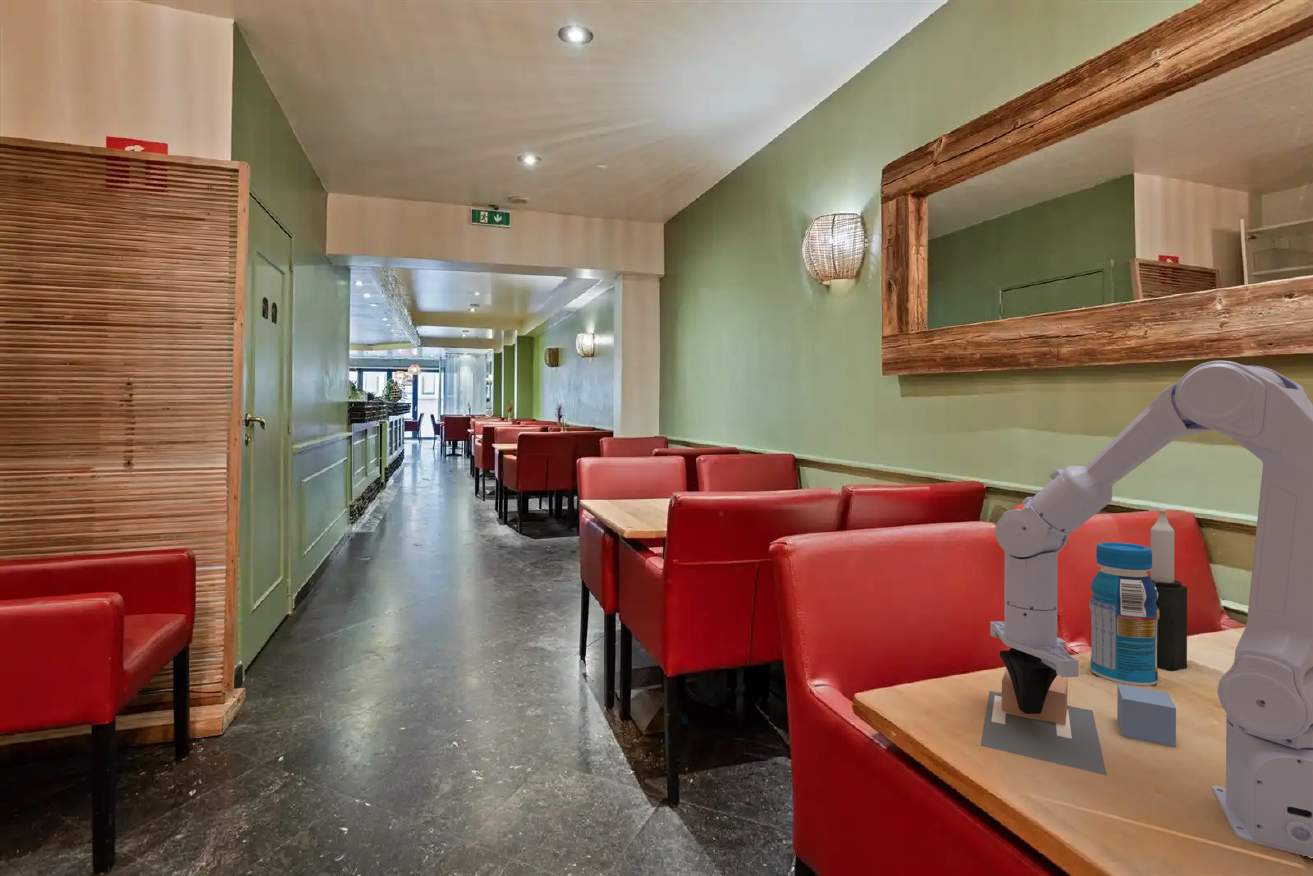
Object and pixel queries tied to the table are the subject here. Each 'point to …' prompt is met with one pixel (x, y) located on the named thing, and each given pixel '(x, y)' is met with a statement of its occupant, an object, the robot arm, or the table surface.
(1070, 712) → the letter mat
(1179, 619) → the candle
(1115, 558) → the blue supplement bottle
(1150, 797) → the table surface
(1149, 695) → the blue cube
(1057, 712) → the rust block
